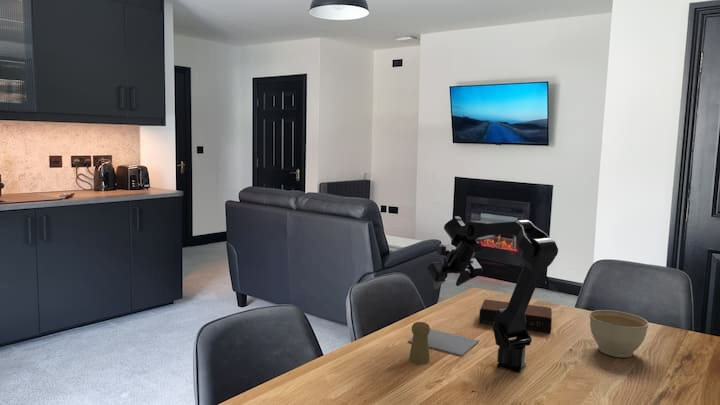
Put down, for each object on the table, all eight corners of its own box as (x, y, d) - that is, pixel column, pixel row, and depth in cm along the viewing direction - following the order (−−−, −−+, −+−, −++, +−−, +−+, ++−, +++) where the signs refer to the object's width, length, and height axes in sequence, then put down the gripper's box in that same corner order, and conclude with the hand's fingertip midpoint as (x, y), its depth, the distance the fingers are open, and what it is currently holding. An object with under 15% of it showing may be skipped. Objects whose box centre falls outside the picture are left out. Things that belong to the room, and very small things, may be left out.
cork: (431, 365, 148) (432, 327, 147) (409, 364, 148) (411, 326, 147) (428, 356, 154) (430, 320, 153) (408, 355, 154) (409, 319, 153)
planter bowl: (653, 365, 152) (656, 329, 151) (593, 359, 155) (596, 324, 154) (635, 345, 168) (638, 312, 167) (582, 340, 171) (584, 307, 170)
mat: (479, 342, 166) (479, 340, 166) (462, 356, 155) (462, 354, 155) (427, 329, 176) (427, 328, 176) (407, 342, 164) (407, 340, 164)
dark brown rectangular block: (478, 324, 184) (479, 308, 183) (482, 314, 195) (483, 299, 194) (550, 334, 176) (551, 317, 175) (550, 323, 187) (551, 307, 186)
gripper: (473, 234, 175) (455, 266, 184) (427, 237, 167) (411, 271, 175) (492, 257, 168) (472, 290, 177) (445, 262, 159) (427, 297, 168)
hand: (445, 286), depth 174 cm, fingers open, 9 cm apart
